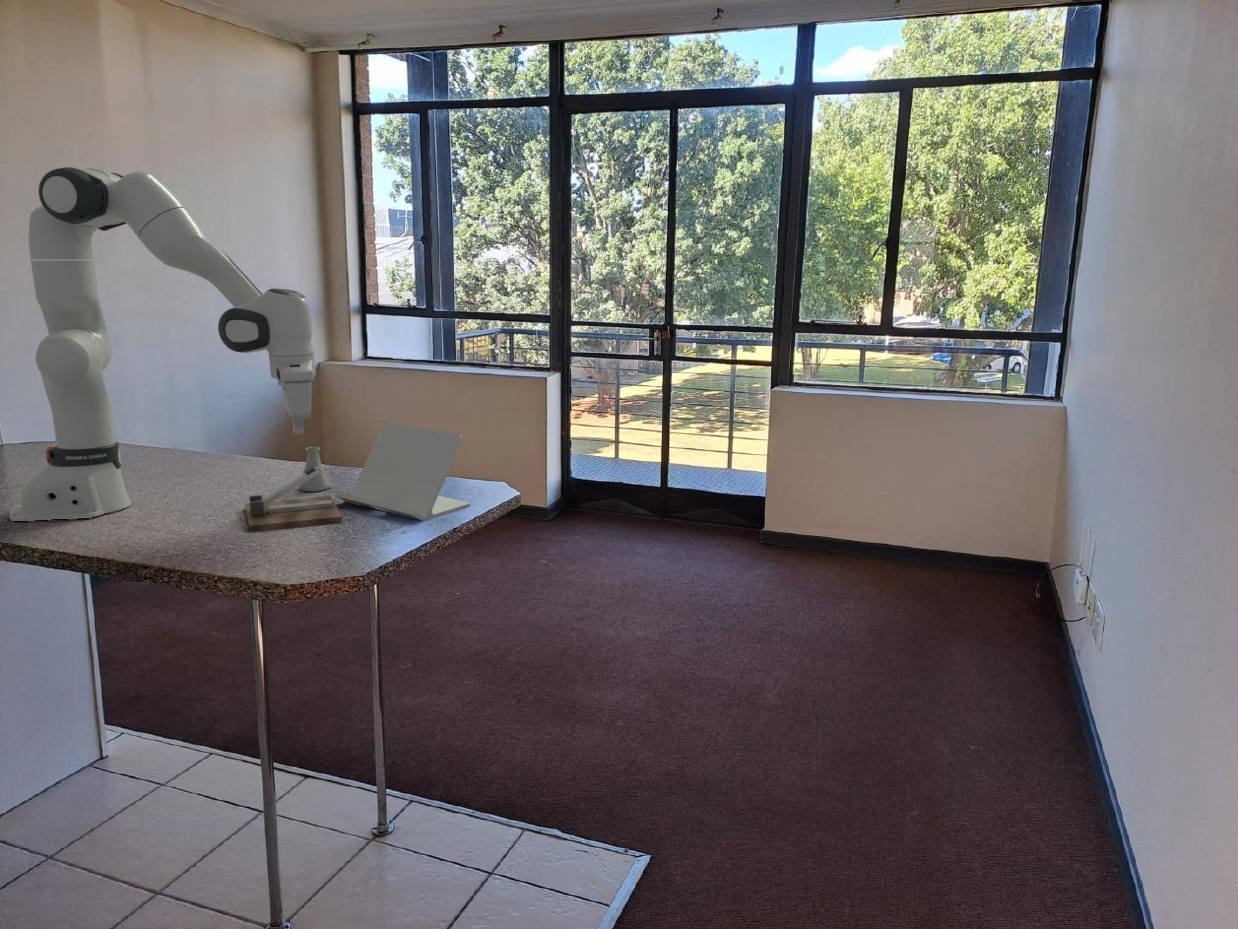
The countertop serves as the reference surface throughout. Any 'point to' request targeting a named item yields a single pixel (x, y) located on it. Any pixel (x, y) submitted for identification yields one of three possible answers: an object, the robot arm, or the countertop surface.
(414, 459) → the tablet stand
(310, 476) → the upper tong arm
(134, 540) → the countertop surface
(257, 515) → the lower tong arm
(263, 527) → the walnut board
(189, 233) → the robot arm
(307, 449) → the flask
